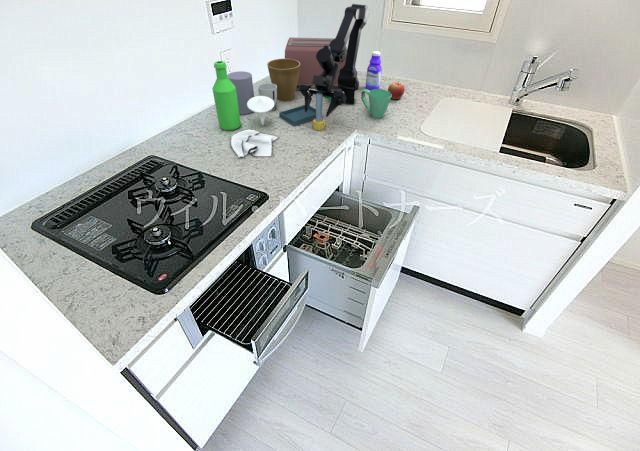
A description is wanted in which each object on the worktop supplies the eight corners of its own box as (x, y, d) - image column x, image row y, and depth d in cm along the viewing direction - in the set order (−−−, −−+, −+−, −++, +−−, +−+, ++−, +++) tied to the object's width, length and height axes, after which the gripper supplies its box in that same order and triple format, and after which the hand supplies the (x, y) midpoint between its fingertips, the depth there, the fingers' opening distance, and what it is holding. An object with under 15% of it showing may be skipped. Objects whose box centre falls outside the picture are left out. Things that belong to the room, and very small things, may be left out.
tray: (307, 108, 154) (306, 104, 153) (322, 116, 148) (322, 112, 147) (279, 116, 147) (279, 112, 146) (294, 126, 141) (294, 121, 139)
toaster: (350, 92, 170) (353, 48, 157) (283, 90, 170) (280, 46, 157) (348, 79, 185) (351, 37, 171) (286, 77, 185) (284, 36, 171)
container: (259, 107, 155) (255, 72, 145) (249, 116, 147) (245, 80, 137) (238, 104, 157) (233, 70, 147) (228, 113, 149) (222, 78, 139)
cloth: (247, 127, 139) (246, 122, 137) (291, 141, 131) (291, 135, 129) (212, 148, 126) (210, 142, 124) (258, 165, 118) (257, 159, 116)
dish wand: (316, 124, 143) (316, 90, 133) (326, 126, 141) (327, 93, 132) (310, 128, 140) (310, 94, 130) (321, 131, 138) (321, 97, 129)
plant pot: (272, 92, 168) (269, 57, 158) (301, 93, 168) (301, 58, 158) (267, 104, 157) (264, 68, 147) (299, 105, 157) (298, 69, 147)
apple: (401, 94, 169) (404, 78, 164) (404, 101, 163) (407, 84, 158) (385, 94, 169) (387, 78, 163) (388, 101, 163) (390, 84, 158)
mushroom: (277, 129, 138) (275, 100, 130) (250, 131, 136) (246, 102, 128) (274, 119, 145) (272, 91, 138) (249, 120, 144) (245, 92, 136)
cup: (275, 113, 150) (273, 90, 143) (257, 111, 151) (255, 88, 144) (280, 106, 156) (279, 84, 149) (263, 104, 157) (261, 82, 150)
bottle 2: (363, 88, 174) (367, 52, 163) (367, 85, 178) (371, 49, 166) (376, 91, 172) (381, 54, 160) (380, 88, 175) (385, 51, 164)
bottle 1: (222, 133, 135) (210, 67, 118) (217, 124, 141) (204, 60, 124) (244, 128, 138) (234, 64, 122) (237, 120, 144) (228, 57, 127)
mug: (392, 116, 150) (396, 93, 143) (378, 122, 145) (382, 99, 138) (367, 106, 158) (369, 84, 151) (353, 112, 152) (355, 89, 146)
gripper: (300, 61, 128) (287, 100, 128) (345, 69, 123) (332, 109, 123) (309, 77, 139) (297, 112, 139) (351, 84, 133) (339, 121, 133)
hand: (316, 114), depth 133 cm, fingers open, 9 cm apart
